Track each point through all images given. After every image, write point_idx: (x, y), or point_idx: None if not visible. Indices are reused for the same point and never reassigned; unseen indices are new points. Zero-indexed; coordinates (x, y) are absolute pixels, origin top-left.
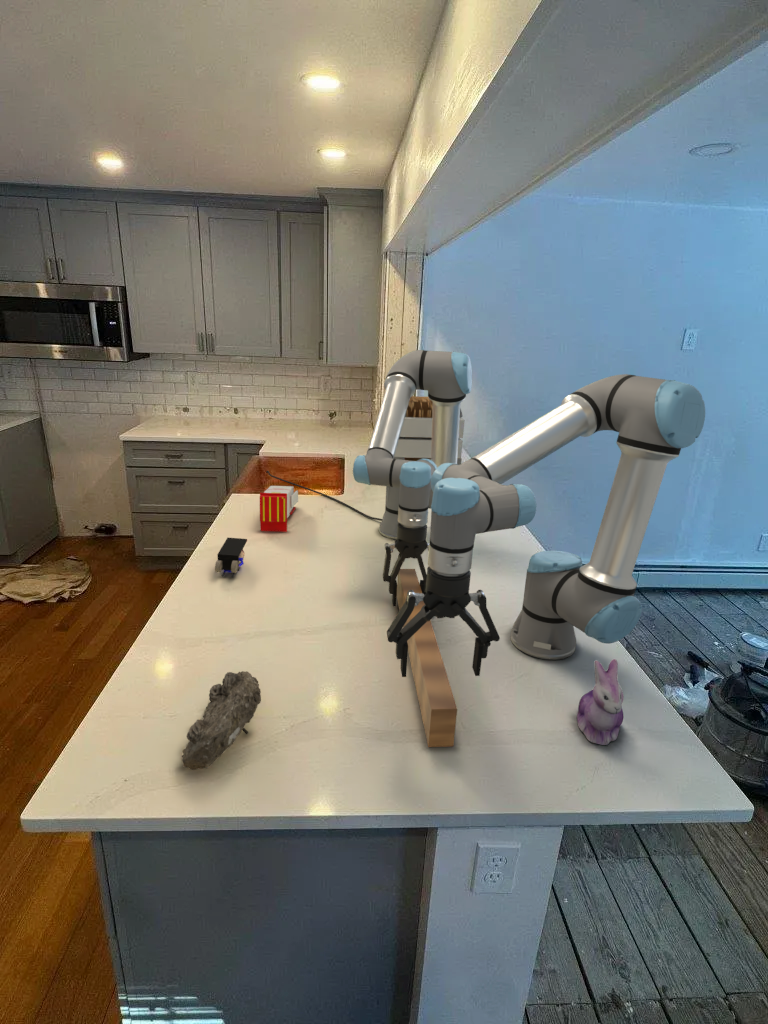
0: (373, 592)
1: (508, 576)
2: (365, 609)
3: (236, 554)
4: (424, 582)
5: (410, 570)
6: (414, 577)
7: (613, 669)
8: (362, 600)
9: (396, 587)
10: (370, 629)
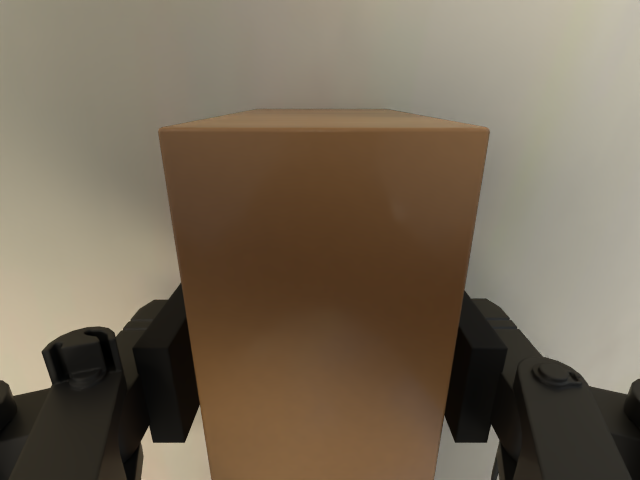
0: (62, 36)
1: None
2: (55, 288)
3: None
4: (499, 457)
5: (387, 200)
6: (401, 415)
7: None
8: (6, 174)
9: (191, 411)
10: None
